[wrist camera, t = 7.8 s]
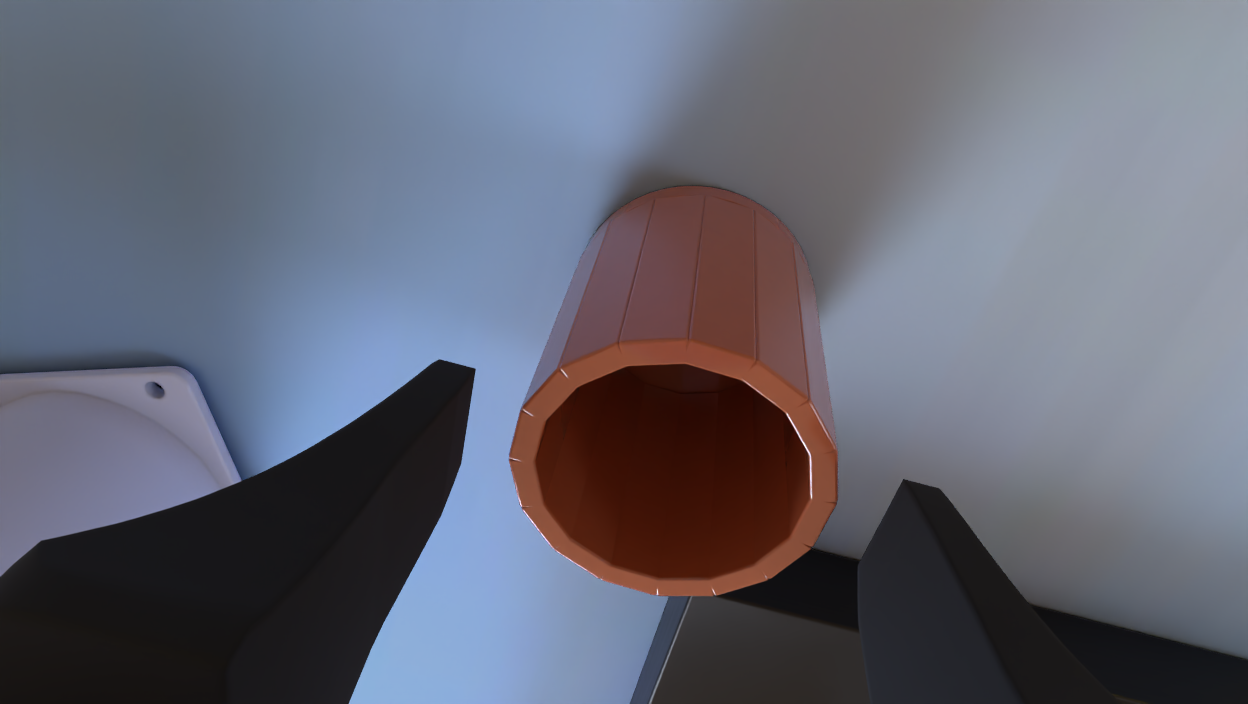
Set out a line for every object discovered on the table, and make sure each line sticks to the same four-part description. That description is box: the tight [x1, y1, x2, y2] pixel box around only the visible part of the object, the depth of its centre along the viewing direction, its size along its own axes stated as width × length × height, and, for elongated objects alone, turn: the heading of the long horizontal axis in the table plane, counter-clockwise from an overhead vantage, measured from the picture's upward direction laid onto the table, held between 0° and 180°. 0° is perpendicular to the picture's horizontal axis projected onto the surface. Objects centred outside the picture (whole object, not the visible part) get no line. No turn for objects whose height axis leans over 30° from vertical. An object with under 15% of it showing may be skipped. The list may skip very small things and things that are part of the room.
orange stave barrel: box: [509, 186, 838, 596], centre depth 17 cm, size 5×5×6 cm
